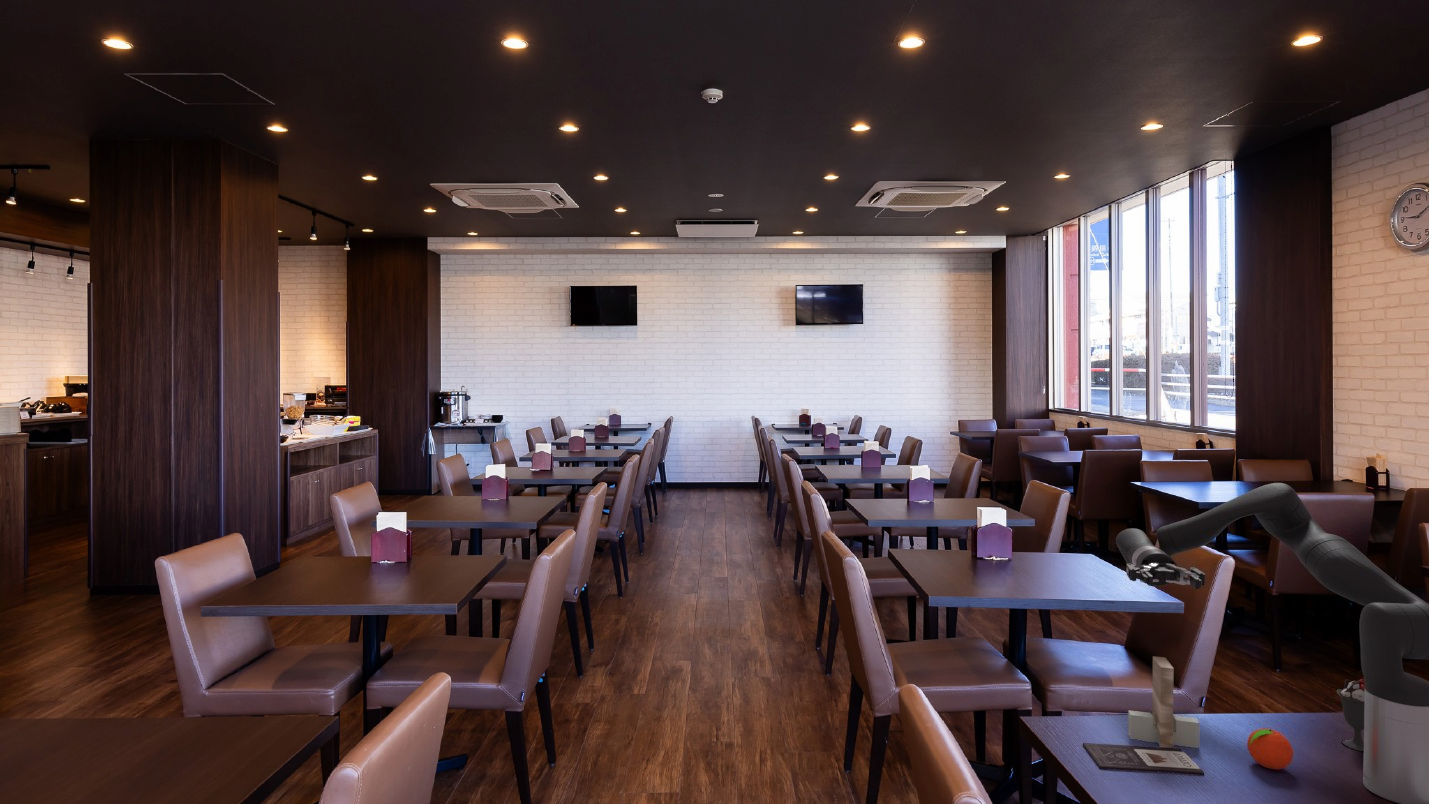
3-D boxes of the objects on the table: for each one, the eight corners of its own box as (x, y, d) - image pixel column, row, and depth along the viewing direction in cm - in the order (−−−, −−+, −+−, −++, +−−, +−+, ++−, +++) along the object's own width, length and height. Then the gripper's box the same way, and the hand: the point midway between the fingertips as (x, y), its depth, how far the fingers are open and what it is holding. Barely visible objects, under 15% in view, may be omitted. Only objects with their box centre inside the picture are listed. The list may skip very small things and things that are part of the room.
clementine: (1266, 779, 133) (1267, 740, 133) (1232, 760, 140) (1233, 723, 140) (1303, 774, 135) (1303, 736, 135) (1267, 755, 142) (1268, 719, 141)
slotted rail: (1195, 742, 147) (1195, 718, 147) (1199, 748, 145) (1199, 723, 144) (1128, 734, 150) (1128, 710, 150) (1130, 739, 148) (1130, 714, 148)
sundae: (1377, 758, 140) (1379, 680, 140) (1332, 745, 145) (1333, 670, 145) (1383, 747, 145) (1384, 671, 144) (1339, 734, 150) (1340, 662, 149)
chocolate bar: (1082, 742, 146) (1180, 748, 144) (1082, 747, 146) (1180, 753, 144) (1100, 766, 137) (1204, 772, 135) (1100, 771, 137) (1204, 777, 135)
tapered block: (1163, 733, 150) (1164, 656, 150) (1173, 750, 144) (1174, 669, 143) (1151, 732, 151) (1152, 655, 151) (1160, 748, 145) (1161, 668, 144)
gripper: (1188, 583, 167) (1213, 603, 152) (1118, 578, 172) (1135, 597, 156) (1189, 550, 167) (1213, 567, 152) (1119, 546, 172) (1135, 562, 156)
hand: (1173, 582), depth 154 cm, fingers open, 8 cm apart
